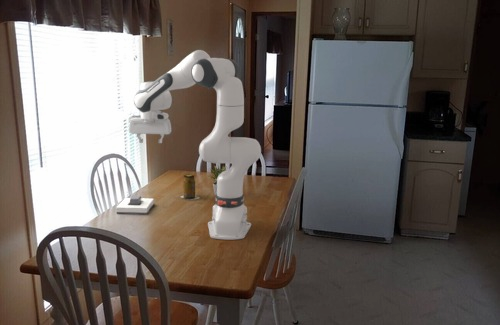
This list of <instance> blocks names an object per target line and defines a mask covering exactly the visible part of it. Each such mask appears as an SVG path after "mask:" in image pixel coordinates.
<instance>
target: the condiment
mask: <svg viewBox="0 0 500 325" xmlns="http://www.w3.org/2000/svg"><path fill="white" fill-rule="evenodd" d="M182 182H183V188H182V189H183V195H181V196H179V197H180V198H182V199H184V200H186V201H193V200H194V201H195V200H198V199H200V197H199V196H197V195H196V179H195V174H194V173H186V174H184V175H183V181H182Z"/></svg>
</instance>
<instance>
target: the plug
mask: <svg viewBox="0 0 500 325" xmlns="http://www.w3.org/2000/svg"><path fill="white" fill-rule="evenodd" d="M130 198H131V199H130V205H141V198H142V197H141V195H132V197H130Z"/></svg>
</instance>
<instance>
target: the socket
mask: <svg viewBox="0 0 500 325" xmlns="http://www.w3.org/2000/svg"><path fill="white" fill-rule="evenodd" d="M130 199H131V197H124V199H123V200H122V201H121V202H120V203H119V204H118V205H117V206H116V208H115V210H116V214H117V215H118V214H119V215H121V214H122V215H148V213H149V212H150V211H151V209H152V208H153V206H154V205H155V198H144V197H141V205H130Z"/></svg>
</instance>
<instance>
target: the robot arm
mask: <svg viewBox="0 0 500 325" xmlns="http://www.w3.org/2000/svg"><path fill="white" fill-rule="evenodd" d="M239 76H240V67H239V65H238V63H237V61H235V60H233V59H231V58H228V57H224V58H223V57H221V58H220V57H211V56H210V54H208V53H207V52H206V51H205V50H203V49H196V50H194V51H192V52H191V53H190V54H188V55H186V57H184V58H183V59H181V61H180V62H179V63H178V64H176V66H174V67H173V68H171V69H169V71H166V72H165V73H164V74H162V75H160V76H159V77H158V78H157V79H155V80H149V81H142V82H141V83H140V87H139V90H138V91H136V94H135V95H134V98H133V104H134V106H135V108H137V110H138V111H139V113H140V114H131V115H129V116H128V123H129V125H128V131H129V133H130V134H133V135H134V134H135V135H136V137H137V139H138V142H139V143H141V144H142V143H143V142H144V138H142V137H141V135H143V134H144V135H160V138H159V139H158V144H162V143H163V139H164V137H165V135H170V134H171V133H172V124H171V120H170V119H169V116H170V115H169V114H168V113H167V112H163V111H162V110H168V109H171V106H172V105H173V102H174V100H173V99H174V98H173V94H172V93H171V91H174V90H182V89H188V88H191V87H193V86H195V85H196V84H197V85H199V86H202V87H203V88H204V87H205V88H206V89H208V90H211V89H214V90H215V92H216V116H215V125H214V127H213V128H212V131H211V132H210V133H209V134H208V135H207V136H206V137H204V139H202V141H201V142H200V144H199V147H198V154H199V156H200V158H201V160H203V162H207V163H212V164H231V166H230V168H228V169H227V170H225V171H224V172H222V173H221V174H219V176H218V177H217V194H216V195H215V204H214V205H213V206H212V217H211V218H210V219H211V221H208V222H207V227H208V233H209V236H210V238H211V239H217V240H225V241H226V240H228V241H229V240H241V239H244V238H245V237H246V236H247V233H248V232H249V230H250V229H251V227H252V223H251V222H248V208H247V206H246V205H245V204H244V203H245V202H244V200H245V197H244V194H243V191H244V190H243V188H244V179H245V176H246V173H247V171H248V170H249V168H250V167H251V166H252V165H253V164H254V163H256V162H257V161H258V160H259V159H260V157H261V153H262V146H261V145H260V142H259V141H258V140H257V139H255V138H251V137H245V136H244V137H241V136H239V137H237V136H236V137H235V136H231V137H230V136H229V134H230V133H231V132H233V131H235V130H237V129H239V128H240V127H242V125H243V124H244V119H245V94H244V86H243V82H242V80H241V79H240V78H239Z"/></svg>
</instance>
